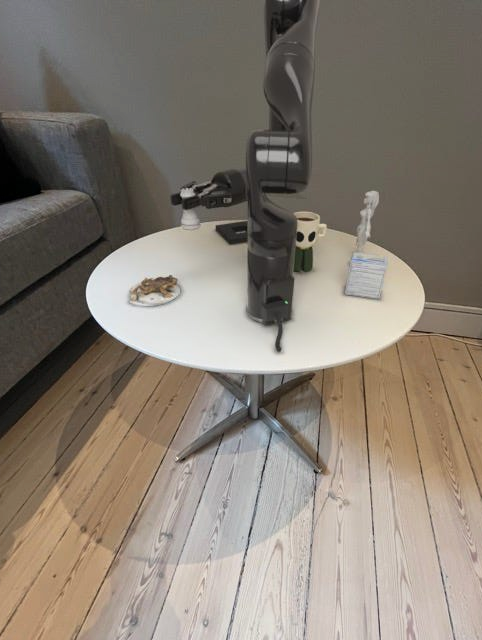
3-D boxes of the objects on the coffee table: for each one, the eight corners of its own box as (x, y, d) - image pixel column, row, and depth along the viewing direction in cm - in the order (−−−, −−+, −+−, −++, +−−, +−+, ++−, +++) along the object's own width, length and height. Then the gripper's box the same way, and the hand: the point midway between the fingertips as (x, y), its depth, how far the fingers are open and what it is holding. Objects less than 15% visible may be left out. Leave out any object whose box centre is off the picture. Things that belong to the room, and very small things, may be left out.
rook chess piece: (199, 231, 86) (196, 193, 81) (179, 231, 86) (174, 192, 81) (202, 224, 90) (198, 186, 84) (182, 223, 90) (178, 186, 84)
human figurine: (348, 254, 106) (362, 183, 94) (362, 255, 106) (377, 184, 94) (351, 274, 97) (366, 198, 85) (366, 275, 97) (383, 199, 85)
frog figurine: (180, 279, 94) (178, 264, 91) (181, 304, 85) (179, 288, 82) (132, 282, 92) (128, 267, 90) (127, 308, 84) (123, 292, 81)
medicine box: (379, 291, 91) (388, 255, 85) (379, 300, 88) (388, 264, 82) (346, 286, 93) (352, 251, 87) (344, 295, 89) (351, 259, 84)
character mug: (280, 275, 97) (284, 221, 88) (277, 262, 102) (280, 211, 93) (323, 274, 97) (331, 221, 88) (318, 262, 102) (325, 211, 94)
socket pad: (268, 238, 114) (268, 233, 113) (230, 244, 110) (230, 239, 109) (251, 224, 122) (251, 219, 121) (215, 230, 118) (215, 225, 117)
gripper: (215, 163, 93) (155, 176, 84) (257, 174, 86) (196, 190, 76) (217, 196, 98) (160, 212, 89) (256, 210, 91) (200, 229, 81)
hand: (177, 202), depth 83 cm, fingers closed on rook chess piece, 3 cm apart
